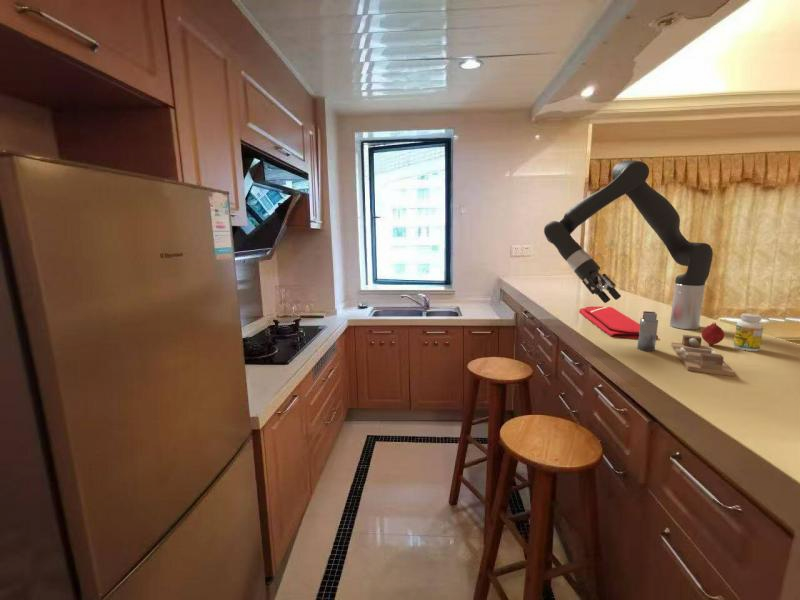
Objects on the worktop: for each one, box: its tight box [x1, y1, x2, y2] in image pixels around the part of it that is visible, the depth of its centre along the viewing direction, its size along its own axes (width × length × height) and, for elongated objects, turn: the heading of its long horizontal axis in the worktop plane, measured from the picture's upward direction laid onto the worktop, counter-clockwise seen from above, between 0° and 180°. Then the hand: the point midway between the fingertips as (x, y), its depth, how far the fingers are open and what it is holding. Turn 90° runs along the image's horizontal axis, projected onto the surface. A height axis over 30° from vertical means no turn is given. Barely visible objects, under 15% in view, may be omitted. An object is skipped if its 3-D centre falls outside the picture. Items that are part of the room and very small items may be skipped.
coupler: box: [637, 310, 659, 352], centre depth 120 cm, size 5×5×12 cm
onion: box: [700, 321, 725, 346], centre depth 123 cm, size 6×6×8 cm
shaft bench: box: [670, 334, 736, 377], centre depth 111 cm, size 24×10×5 cm, turn 153°
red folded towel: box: [578, 306, 659, 340], centre depth 153 cm, size 16×41×4 cm, turn 170°
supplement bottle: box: [733, 312, 764, 352], centre depth 119 cm, size 6×6×11 cm
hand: (613, 299), depth 127 cm, fingers open, 8 cm apart
